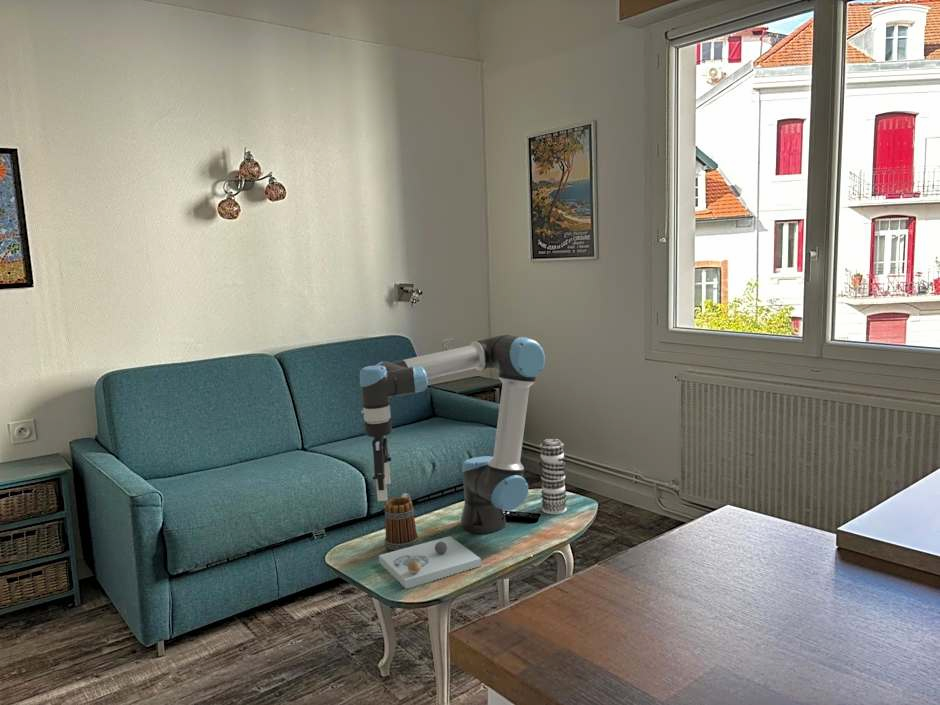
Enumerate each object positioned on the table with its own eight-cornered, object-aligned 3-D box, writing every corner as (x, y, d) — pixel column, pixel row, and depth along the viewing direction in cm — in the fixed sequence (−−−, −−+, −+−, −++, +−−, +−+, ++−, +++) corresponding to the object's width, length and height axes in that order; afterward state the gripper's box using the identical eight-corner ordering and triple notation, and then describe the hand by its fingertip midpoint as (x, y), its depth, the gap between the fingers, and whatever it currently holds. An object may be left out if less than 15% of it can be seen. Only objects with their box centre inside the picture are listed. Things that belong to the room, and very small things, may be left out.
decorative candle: (561, 503, 258) (558, 435, 255) (571, 512, 250) (569, 442, 246) (537, 507, 256) (534, 438, 252) (547, 516, 247) (544, 445, 243)
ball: (443, 549, 219) (443, 538, 218) (449, 554, 216) (448, 542, 215) (433, 552, 217) (432, 541, 217) (438, 557, 214) (437, 545, 214)
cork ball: (417, 568, 207) (416, 557, 207) (422, 573, 204) (422, 561, 203) (406, 572, 205) (405, 560, 205) (411, 577, 202) (410, 564, 202)
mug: (413, 554, 223) (410, 508, 221) (380, 553, 225) (377, 507, 223) (426, 534, 238) (423, 490, 236) (395, 533, 240) (392, 489, 238)
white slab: (450, 543, 229) (449, 536, 229) (481, 566, 212) (480, 558, 212) (379, 563, 218) (378, 555, 218) (406, 588, 201) (405, 580, 200)
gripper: (368, 411, 217) (375, 478, 221) (359, 433, 193) (367, 509, 196) (393, 409, 217) (399, 476, 221) (387, 431, 193) (394, 506, 196)
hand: (384, 491), depth 208 cm, fingers open, 13 cm apart
